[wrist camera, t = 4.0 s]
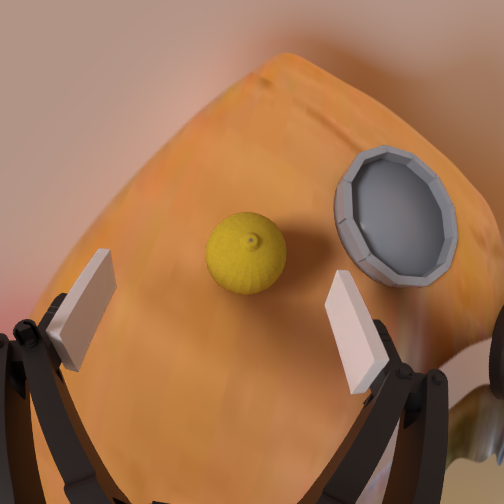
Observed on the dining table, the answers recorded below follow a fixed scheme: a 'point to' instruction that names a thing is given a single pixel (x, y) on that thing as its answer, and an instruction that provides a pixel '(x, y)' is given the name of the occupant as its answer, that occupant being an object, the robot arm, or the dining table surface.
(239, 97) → the dining table surface
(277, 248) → the lemon
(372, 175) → the grey round plate
